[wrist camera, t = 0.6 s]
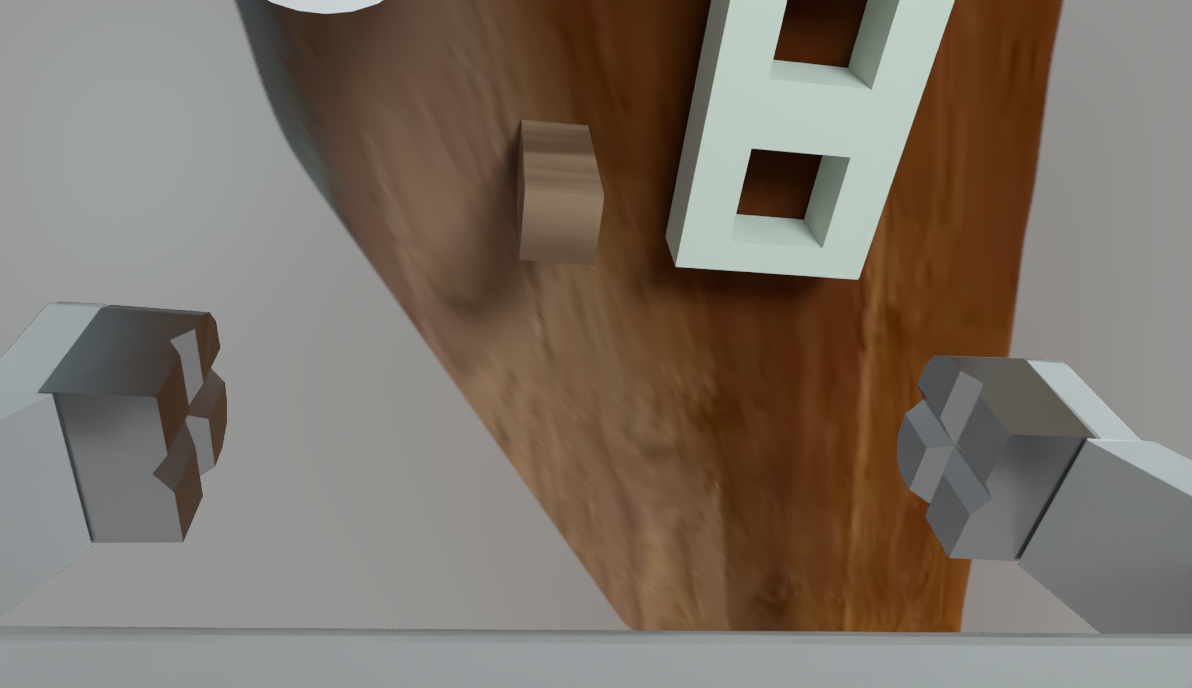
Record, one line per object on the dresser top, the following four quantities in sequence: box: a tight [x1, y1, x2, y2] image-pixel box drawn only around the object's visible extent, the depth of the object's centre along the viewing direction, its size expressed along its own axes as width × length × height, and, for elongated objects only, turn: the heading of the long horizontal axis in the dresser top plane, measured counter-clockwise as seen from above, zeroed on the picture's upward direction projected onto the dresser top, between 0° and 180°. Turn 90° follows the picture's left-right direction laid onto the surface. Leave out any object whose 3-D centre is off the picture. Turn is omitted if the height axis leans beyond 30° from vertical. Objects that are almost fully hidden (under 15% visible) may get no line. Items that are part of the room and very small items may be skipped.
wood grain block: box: [516, 119, 604, 265], centre depth 48 cm, size 4×4×10 cm
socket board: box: [665, 0, 954, 279], centre depth 50 cm, size 20×12×4 cm, turn 173°
